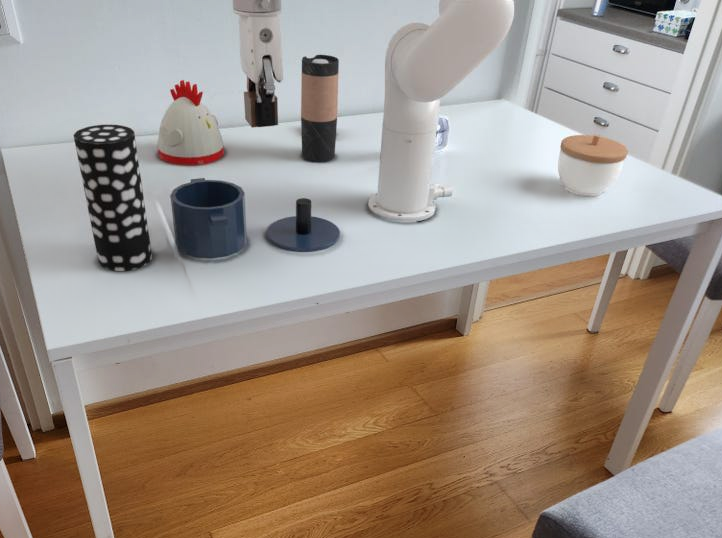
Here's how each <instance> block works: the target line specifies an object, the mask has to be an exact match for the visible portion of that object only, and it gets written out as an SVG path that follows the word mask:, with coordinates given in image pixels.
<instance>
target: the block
mask: <svg viewBox="0 0 722 538" xmlns="http://www.w3.org/2000/svg"><path fill="white" fill-rule="evenodd" d="M261 92H262V91H261ZM274 96H275V125H274V126H279V109H278V108H279V106H278V105H279V104H278V103H279V101H278V96H277V95H276V94H274ZM243 101H244V102H243V103H244V105H243V106H244V120H245V121H246V122H247V123H248V125H249V126H250V127H251V128H258V127H257V125H256V112H255V102H257V95H256V91H243ZM274 126H273V127H274Z"/></svg>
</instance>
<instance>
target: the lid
mask: <svg viewBox="0 0 722 538" xmlns="http://www.w3.org/2000/svg"><path fill="white" fill-rule="evenodd" d="M266 237H267V239H268V241H269V242H270V243H271V244H273V245H274V246H276V247H278V248H280V249H284V250H288V251H293V252H303V253H304V252H305V253H306V252H316V251H317V252H318V251H322V250H325V249H328V248H330V247H332V246H334V245H335V244H337V242H338V241H339V240H340V237H341V231H340V229H339V227H338V226H337V225H336V224H335V223H334V222H332V221H330V220H328V219H325V218H322V217H317V216H312V200H311V199H309V198H307V197H302V198H298V199H296V201H295V215H293V216H286V217H283V218H279V219H277V220H275V221H273V222H271V224H270V225H268V227H267V229H266Z"/></svg>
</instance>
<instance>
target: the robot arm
mask: <svg viewBox="0 0 722 538" xmlns="http://www.w3.org/2000/svg"><path fill="white" fill-rule="evenodd" d="M231 1H232V13H234V14H235V15H238V33H239V34H238V35H239V36H238V37H239V57H240V65H241V70H242V71H243V73H244V74H245V76H246V92H248V91H256V95H257V102H255V112H256V125H257V127H256V128H265V127H274V125H275V96H276V95H275V91H276V82H277V83H282V82H283V80H284V66H283V49H282V38H281V37H282V36H281V27H280V20H279V15H281V14H282V0H231ZM438 2H439V3H438V14H439V16H438V17H437V18H436V20H435V21H433V22H432V23H431V25H428V24H426V23H422V22H411V23H408V24H404V25H403V26H401V27H400V28H399V29H397V30H396V31H395V33H394V34H393V35H392V37H391V38H390V40H389V42H388V44H387V48H386V51H385V58H384V99H383V100H384V101H383V102H384V103H383V117H382V125H381V126H382V128H381V141H380V154H379V165H378V167H379V168H378V169H379V170H378V180H377V192H375V193H374V194H372V195H371V196H370V197H369V199H368V201H367V202H368V204H367V206H368V208H369V209H370V212H373V213H374V214H375V215H377V216H379V217H382V218H384V219H389V220H393V221H394V220H395V221H402V222H411V221H415V222H421V221H424V220H427V219H429V218H431V217H432V216H434V214H435V213H436V203H435V201H436V200H437V199H438V198H443V199H444V198H449V197H452V196H453V188H452V186H451V185H447V186H441V185H440V183H432V184H431V179H432V170H433V165H434V164H433V163H434V155H435V147H436V139H437V131H438V125H439V117H440V108H441V107H440V106H441V105H440V104H441V98H443V97H445V96H446V95H448V94H449V93H450V92H451V91H452V90H453V89H455V88H456V87H457V86H458V85H459V84H460V83H462V82H463V80H464V79H465V78H467V77H468V76H469V75H470V74H471V73H472V72H473V71H474V70H475V69H477V67H478V66H480V65H481V63H483V62H484V60H485V59H487V58H488V57H489V56H490V55H491V54H492V53H493V52H494V51H495V50H496V49H497V48H498V47H499V46H500V45H501V43H502V42H503V41H504V39H505V38H506V37H507V35H508V33H509V31H510V29H511V27H512V25H513V22H514V17H515V3H514V0H439V1H438ZM275 81H276V82H275ZM261 91H262V92H261ZM274 95H275V96H274ZM275 126H276V125H275Z"/></svg>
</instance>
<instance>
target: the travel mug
mask: <svg viewBox="0 0 722 538" xmlns="http://www.w3.org/2000/svg"><path fill="white" fill-rule="evenodd" d="M339 62H340V60H339V58H338V57H336V56H333V55H329V54H316V55H315V56H313V57H307V55H304V56H303V57H302V58H301V83H300V84H301V90H300V92H301V94H300V97H301V98H300V130H301V133H300V134H301V156H302V159H303V160H306V161H308V162H313V163H327V162H331V161H333V160H334V159H335V155H336V142H337V141H336V140H337V125H338V103H339V101H338V100H339V69H340V67H339V66H340V65H339V64H340V63H339Z"/></svg>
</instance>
